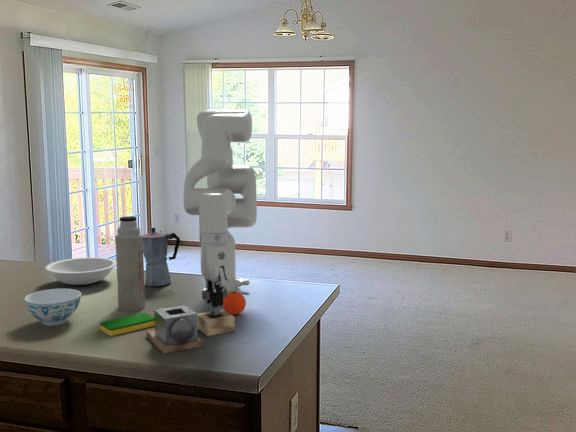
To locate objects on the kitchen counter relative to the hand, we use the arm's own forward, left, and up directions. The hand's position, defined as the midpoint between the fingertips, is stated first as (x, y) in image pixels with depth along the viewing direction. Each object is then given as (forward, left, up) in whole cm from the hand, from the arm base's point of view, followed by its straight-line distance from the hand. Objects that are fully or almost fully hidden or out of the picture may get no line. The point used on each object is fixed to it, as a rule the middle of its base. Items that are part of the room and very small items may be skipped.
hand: (214, 303), depth 167 cm
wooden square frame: (0, 0, -7) cm, 7 cm away
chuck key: (0, 0, -7) cm, 7 cm away
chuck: (+13, +1, -6) cm, 14 cm away
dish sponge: (+20, -14, -8) cm, 26 cm away
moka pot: (-2, -54, -7) cm, 55 cm away
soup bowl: (+21, -69, -8) cm, 73 cm away
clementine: (-10, -10, -7) cm, 16 cm away
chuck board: (+13, +3, -7) cm, 15 cm away
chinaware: (+37, -29, -8) cm, 48 cm away
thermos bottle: (+14, -32, -7) cm, 36 cm away
